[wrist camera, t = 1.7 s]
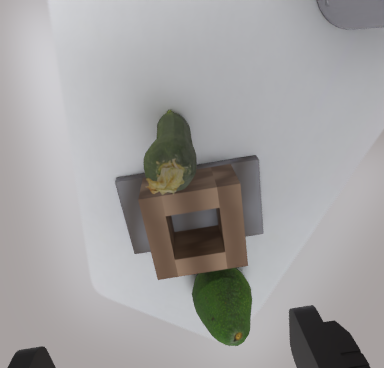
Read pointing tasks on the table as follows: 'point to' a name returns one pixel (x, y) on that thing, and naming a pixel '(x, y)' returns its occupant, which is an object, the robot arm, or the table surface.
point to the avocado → (224, 304)
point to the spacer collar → (196, 218)
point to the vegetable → (170, 156)
